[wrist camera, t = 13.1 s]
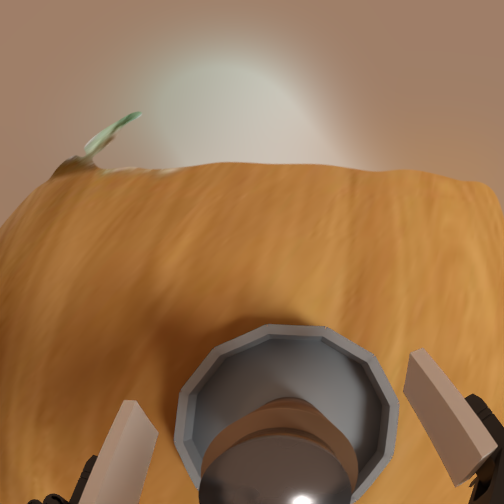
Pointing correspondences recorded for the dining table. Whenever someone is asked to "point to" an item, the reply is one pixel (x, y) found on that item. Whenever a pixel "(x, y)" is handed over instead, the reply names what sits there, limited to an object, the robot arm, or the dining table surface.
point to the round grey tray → (291, 392)
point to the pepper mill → (279, 459)
